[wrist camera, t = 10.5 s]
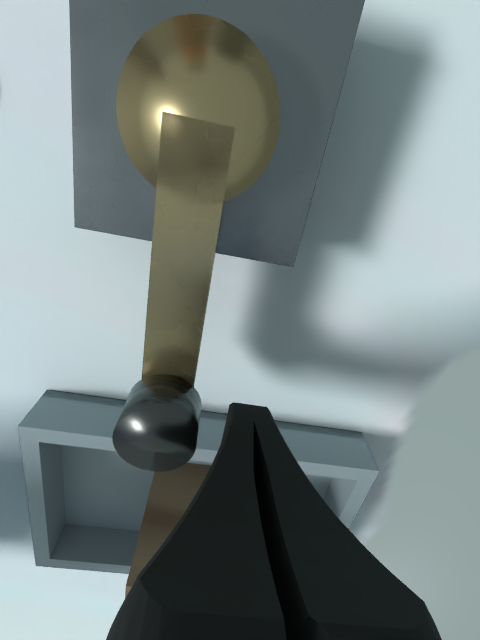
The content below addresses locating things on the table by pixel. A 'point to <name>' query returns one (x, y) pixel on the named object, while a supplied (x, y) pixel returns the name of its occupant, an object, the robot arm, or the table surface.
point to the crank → (187, 204)
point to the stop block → (164, 511)
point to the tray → (145, 477)
